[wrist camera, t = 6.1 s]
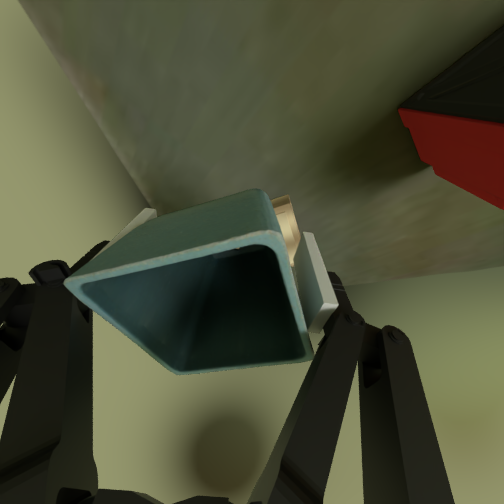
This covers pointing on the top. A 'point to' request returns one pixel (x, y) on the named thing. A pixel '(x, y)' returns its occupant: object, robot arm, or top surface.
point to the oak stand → (287, 224)
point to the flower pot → (202, 288)
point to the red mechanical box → (464, 121)
